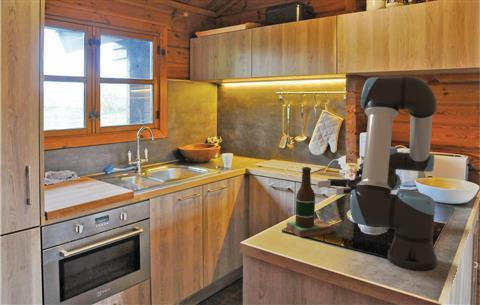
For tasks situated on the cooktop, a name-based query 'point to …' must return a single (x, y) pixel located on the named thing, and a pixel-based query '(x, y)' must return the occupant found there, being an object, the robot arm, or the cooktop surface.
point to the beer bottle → (305, 201)
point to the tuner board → (317, 228)
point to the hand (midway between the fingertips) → (326, 187)
